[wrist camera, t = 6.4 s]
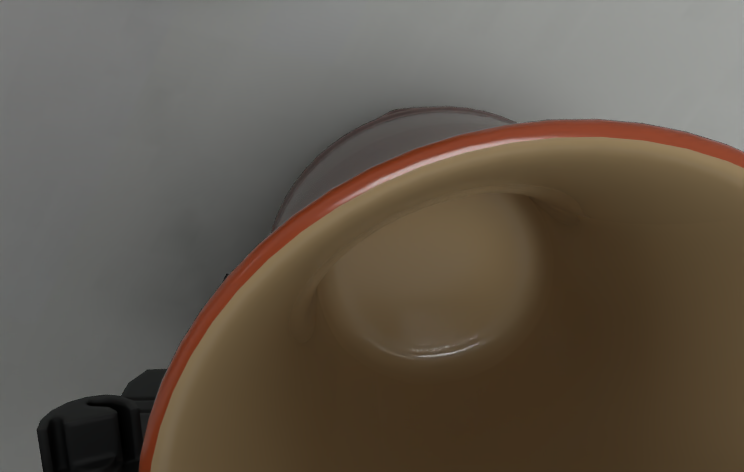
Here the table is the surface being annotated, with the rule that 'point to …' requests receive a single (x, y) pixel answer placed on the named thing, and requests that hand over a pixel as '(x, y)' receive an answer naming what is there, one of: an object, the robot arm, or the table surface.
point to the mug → (477, 309)
